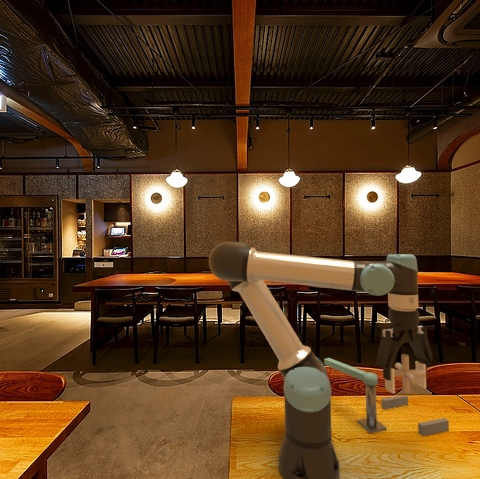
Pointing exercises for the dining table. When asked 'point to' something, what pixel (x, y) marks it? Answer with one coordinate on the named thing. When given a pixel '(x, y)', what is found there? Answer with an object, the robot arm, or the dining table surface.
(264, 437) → the dining table surface
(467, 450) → the dining table surface
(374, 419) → the pivot post
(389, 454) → the dining table surface
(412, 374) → the pipe connector
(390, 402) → the rails
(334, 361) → the grey-green bar
